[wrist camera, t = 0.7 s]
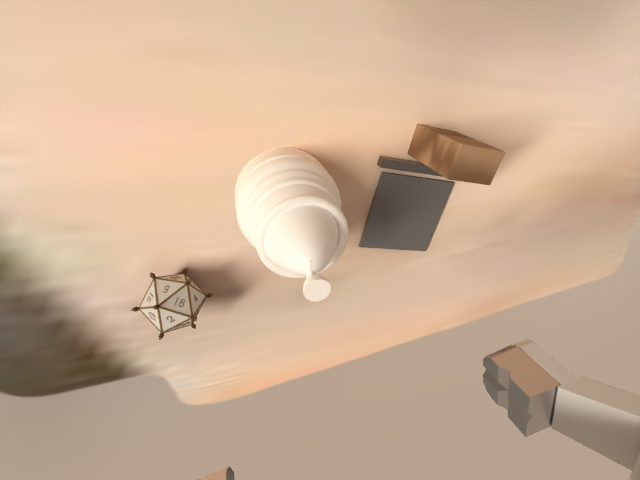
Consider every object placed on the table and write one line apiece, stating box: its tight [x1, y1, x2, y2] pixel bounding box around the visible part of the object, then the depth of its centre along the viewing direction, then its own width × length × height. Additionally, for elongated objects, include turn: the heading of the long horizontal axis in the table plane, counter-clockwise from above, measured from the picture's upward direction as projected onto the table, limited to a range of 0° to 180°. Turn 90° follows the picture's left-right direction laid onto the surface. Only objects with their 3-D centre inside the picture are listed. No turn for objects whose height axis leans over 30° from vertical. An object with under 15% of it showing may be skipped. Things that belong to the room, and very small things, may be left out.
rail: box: [377, 156, 444, 177], centre depth 48 cm, size 1×14×1 cm, turn 79°
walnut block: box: [407, 124, 505, 185], centre depth 42 cm, size 4×6×10 cm, turn 78°
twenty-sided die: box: [132, 268, 213, 340], centre depth 45 cm, size 9×8×10 cm
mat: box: [359, 172, 454, 251], centre depth 51 cm, size 12×12×1 cm
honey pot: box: [235, 147, 349, 301], centre depth 38 cm, size 13×13×18 cm
